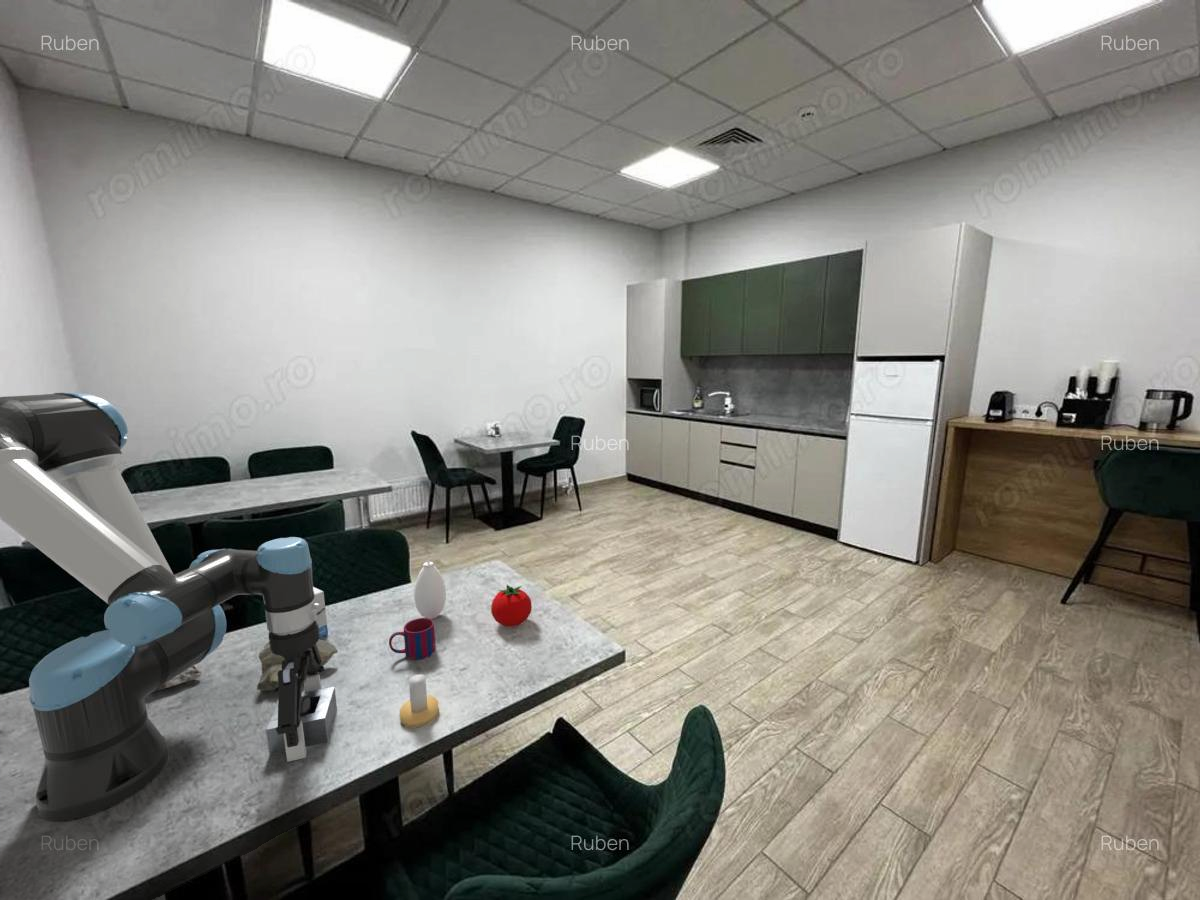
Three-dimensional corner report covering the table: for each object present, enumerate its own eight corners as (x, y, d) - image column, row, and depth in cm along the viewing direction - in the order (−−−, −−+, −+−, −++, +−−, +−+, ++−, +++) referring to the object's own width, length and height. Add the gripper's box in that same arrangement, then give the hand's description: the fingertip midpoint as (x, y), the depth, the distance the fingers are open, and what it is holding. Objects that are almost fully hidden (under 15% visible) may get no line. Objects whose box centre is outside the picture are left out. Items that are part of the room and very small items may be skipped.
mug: (437, 655, 114) (435, 628, 113) (390, 666, 110) (388, 638, 108) (433, 640, 120) (432, 615, 119) (389, 650, 116) (387, 624, 114)
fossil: (273, 688, 108) (255, 700, 98) (264, 641, 109) (246, 647, 100) (343, 665, 112) (333, 673, 103) (334, 619, 114) (323, 624, 105)
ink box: (329, 634, 123) (324, 590, 121) (308, 643, 119) (303, 598, 116) (311, 624, 127) (306, 582, 125) (291, 633, 123) (285, 589, 121)
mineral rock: (209, 676, 106) (206, 658, 106) (168, 700, 99) (164, 680, 98) (161, 665, 110) (158, 647, 110) (118, 687, 103) (114, 668, 102)
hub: (399, 730, 90) (396, 694, 89) (401, 706, 97) (398, 672, 96) (438, 722, 93) (436, 686, 91) (438, 698, 99) (436, 665, 98)
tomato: (512, 609, 135) (511, 575, 133) (540, 621, 129) (539, 585, 127) (483, 626, 127) (481, 590, 125) (511, 639, 121) (510, 601, 119)
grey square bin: (269, 755, 85) (266, 729, 84) (284, 719, 93) (281, 696, 92) (327, 742, 88) (324, 718, 87) (336, 709, 96) (334, 686, 95)
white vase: (441, 625, 127) (437, 559, 124) (411, 624, 127) (406, 559, 124) (450, 610, 135) (447, 548, 132) (422, 609, 135) (418, 548, 132)
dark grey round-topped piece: (289, 741, 88) (286, 710, 87) (295, 725, 92) (292, 695, 91) (315, 736, 89) (311, 705, 88) (319, 721, 93) (316, 691, 92)
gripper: (299, 660, 76) (313, 778, 80) (330, 591, 100) (341, 684, 103) (242, 670, 74) (260, 791, 78) (288, 596, 97) (300, 692, 101)
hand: (306, 730), depth 90 cm, fingers open, 13 cm apart
